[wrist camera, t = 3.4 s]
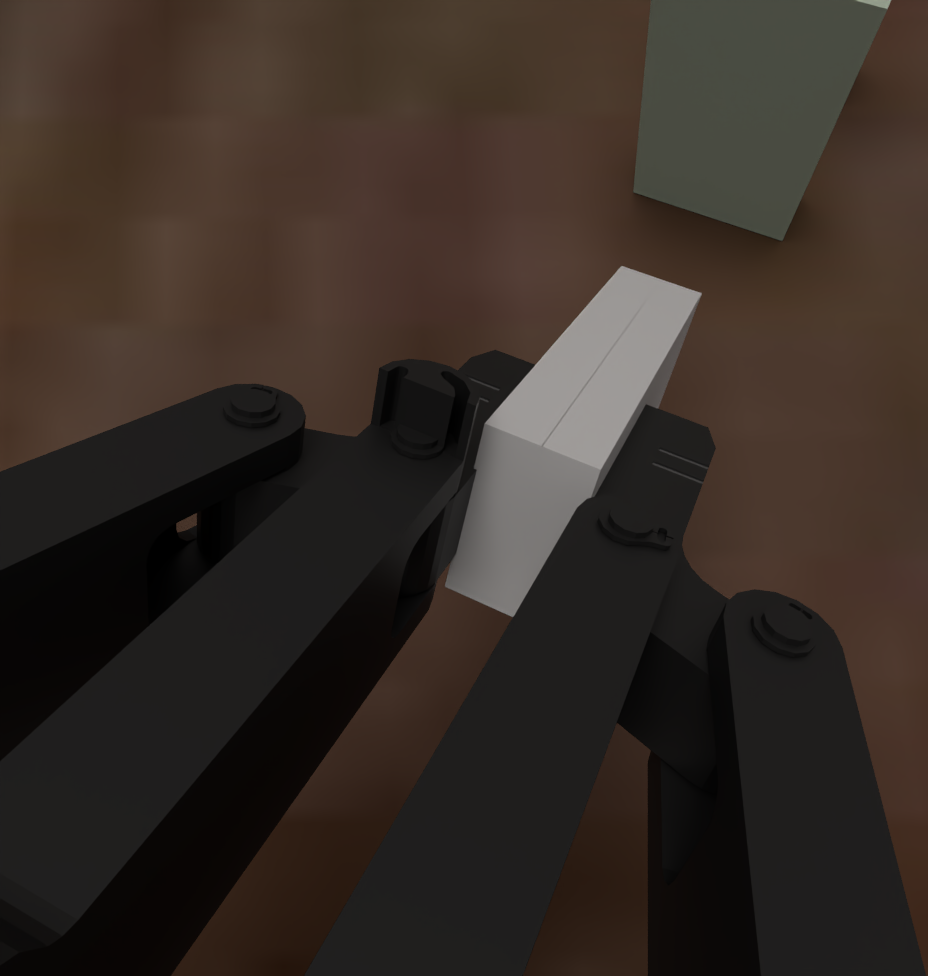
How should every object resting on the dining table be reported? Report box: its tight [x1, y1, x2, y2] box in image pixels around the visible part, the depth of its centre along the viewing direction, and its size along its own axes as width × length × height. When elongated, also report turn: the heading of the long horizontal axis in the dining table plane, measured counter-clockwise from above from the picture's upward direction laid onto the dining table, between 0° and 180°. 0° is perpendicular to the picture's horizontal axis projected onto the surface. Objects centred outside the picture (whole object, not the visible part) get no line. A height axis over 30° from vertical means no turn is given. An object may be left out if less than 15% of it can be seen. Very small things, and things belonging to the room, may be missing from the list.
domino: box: [633, 0, 891, 241], centre depth 23 cm, size 2×5×10 cm, turn 66°
